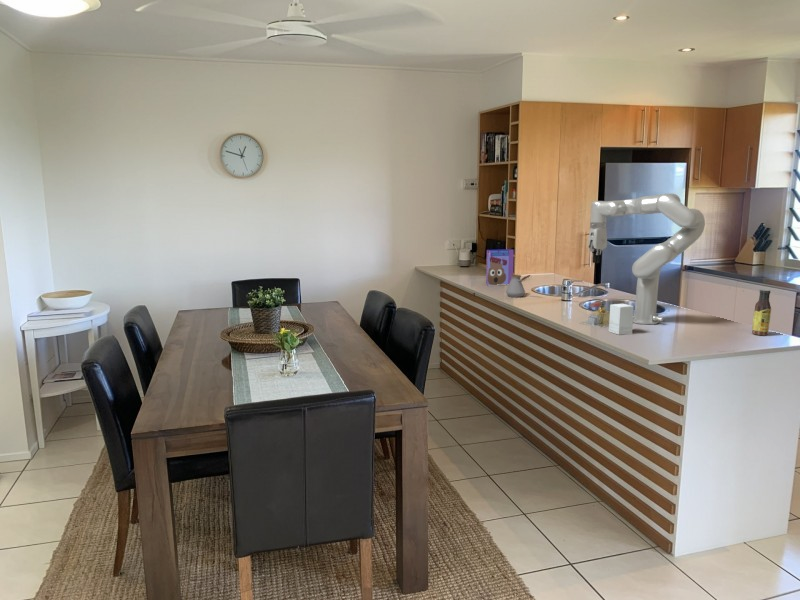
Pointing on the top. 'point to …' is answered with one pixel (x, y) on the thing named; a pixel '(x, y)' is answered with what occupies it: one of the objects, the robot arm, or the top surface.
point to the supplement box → (621, 319)
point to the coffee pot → (516, 286)
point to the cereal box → (499, 266)
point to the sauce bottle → (762, 314)
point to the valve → (598, 318)
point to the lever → (598, 303)
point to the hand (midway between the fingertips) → (596, 262)
